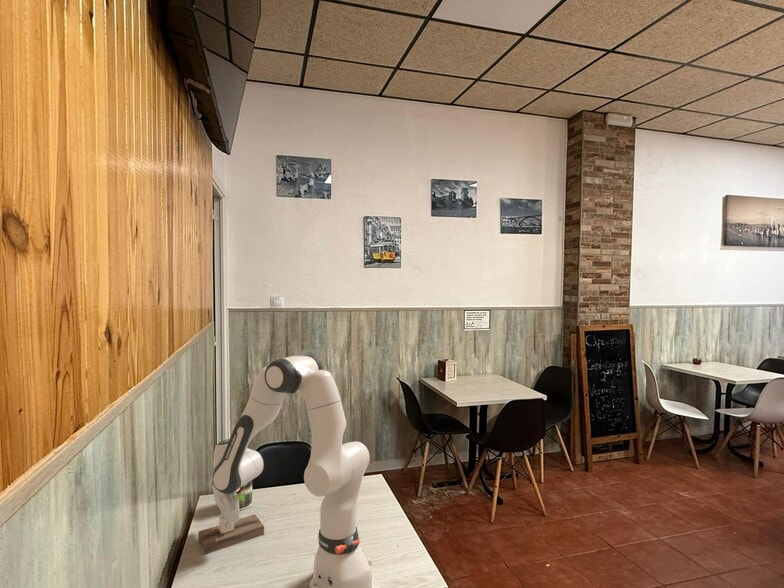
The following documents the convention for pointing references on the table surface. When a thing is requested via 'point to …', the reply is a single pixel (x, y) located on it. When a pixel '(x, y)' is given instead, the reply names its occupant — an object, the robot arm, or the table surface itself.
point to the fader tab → (222, 525)
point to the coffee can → (245, 496)
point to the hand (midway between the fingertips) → (226, 524)
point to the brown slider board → (230, 534)
